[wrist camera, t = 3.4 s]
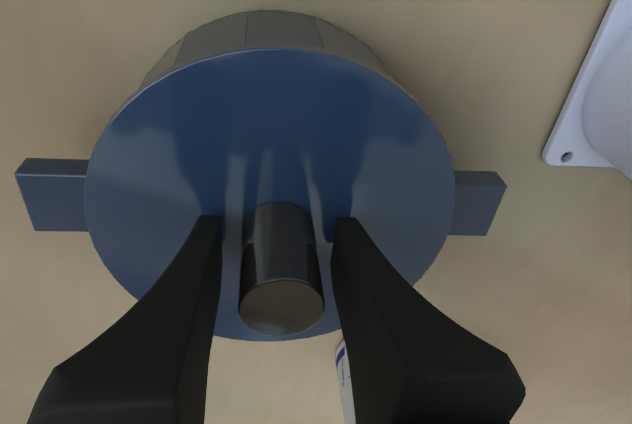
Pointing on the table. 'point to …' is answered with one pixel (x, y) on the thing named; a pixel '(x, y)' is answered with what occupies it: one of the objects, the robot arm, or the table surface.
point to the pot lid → (269, 179)
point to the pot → (242, 28)
